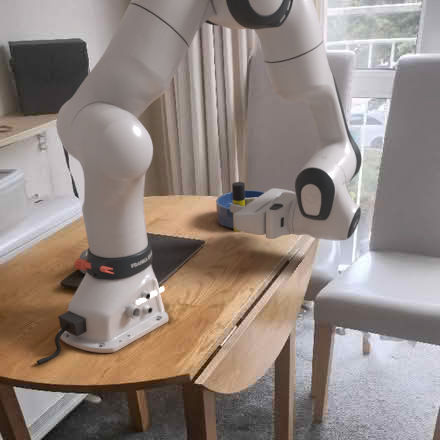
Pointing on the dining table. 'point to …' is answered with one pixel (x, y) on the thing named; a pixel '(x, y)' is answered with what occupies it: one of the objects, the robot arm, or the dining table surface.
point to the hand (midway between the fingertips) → (235, 204)
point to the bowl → (224, 206)
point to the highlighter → (238, 196)
